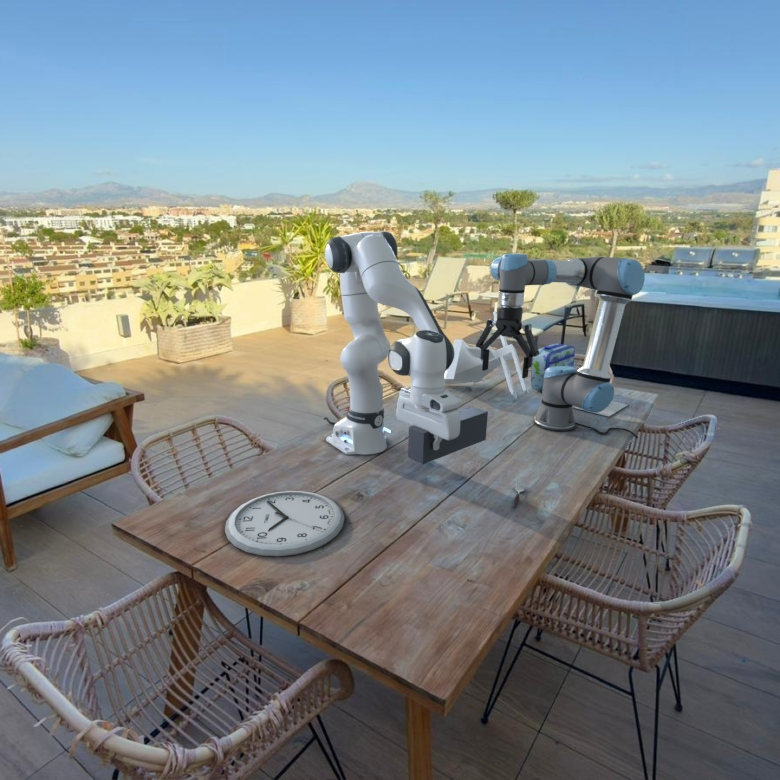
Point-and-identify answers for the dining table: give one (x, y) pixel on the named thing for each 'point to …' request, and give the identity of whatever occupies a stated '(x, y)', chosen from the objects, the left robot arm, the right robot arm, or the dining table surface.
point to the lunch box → (550, 362)
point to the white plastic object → (470, 364)
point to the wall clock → (284, 523)
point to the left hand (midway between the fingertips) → (425, 445)
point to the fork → (518, 489)
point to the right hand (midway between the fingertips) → (504, 373)
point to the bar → (470, 434)
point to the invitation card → (610, 408)
